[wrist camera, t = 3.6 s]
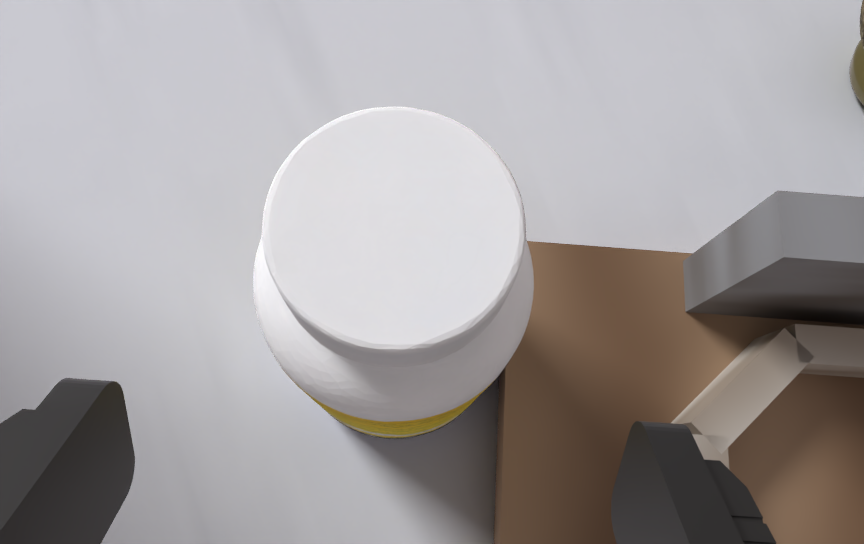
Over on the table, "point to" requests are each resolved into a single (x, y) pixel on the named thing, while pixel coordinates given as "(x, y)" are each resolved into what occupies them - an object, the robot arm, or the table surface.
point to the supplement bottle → (393, 269)
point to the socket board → (694, 373)
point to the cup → (858, 63)
